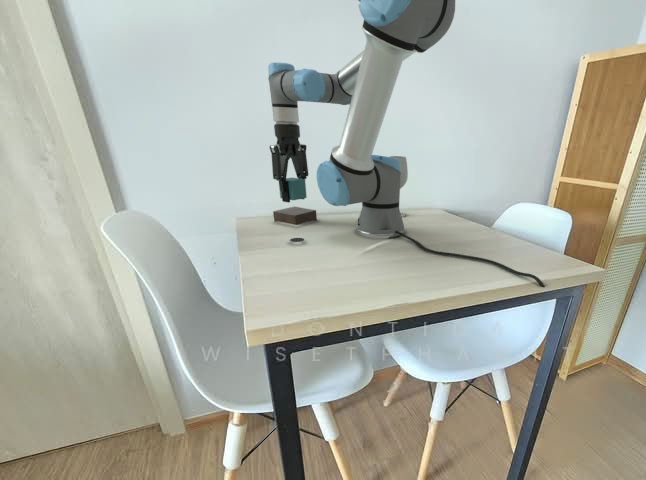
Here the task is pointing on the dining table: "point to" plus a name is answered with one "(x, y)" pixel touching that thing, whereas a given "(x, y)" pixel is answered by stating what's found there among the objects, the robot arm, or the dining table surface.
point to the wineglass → (402, 172)
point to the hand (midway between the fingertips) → (293, 200)
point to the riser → (295, 215)
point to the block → (296, 188)
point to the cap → (297, 239)
